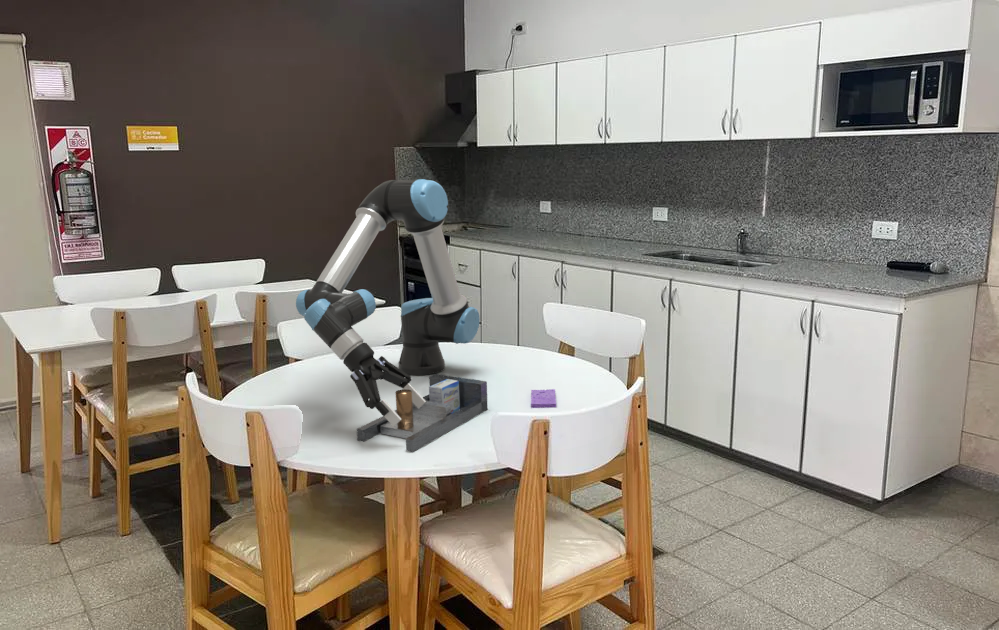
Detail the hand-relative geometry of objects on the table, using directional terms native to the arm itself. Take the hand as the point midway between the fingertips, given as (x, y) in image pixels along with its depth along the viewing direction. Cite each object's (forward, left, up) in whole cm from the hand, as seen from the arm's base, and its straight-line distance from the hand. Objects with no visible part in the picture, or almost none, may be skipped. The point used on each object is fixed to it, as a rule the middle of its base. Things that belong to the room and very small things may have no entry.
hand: (410, 413), depth 187 cm
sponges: (+17, +39, -6) cm, 43 cm away
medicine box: (-2, +17, -6) cm, 18 cm away
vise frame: (-2, +8, -6) cm, 10 cm away
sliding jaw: (-2, +4, -5) cm, 7 cm away
